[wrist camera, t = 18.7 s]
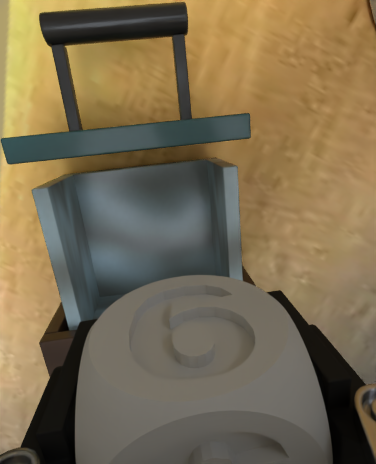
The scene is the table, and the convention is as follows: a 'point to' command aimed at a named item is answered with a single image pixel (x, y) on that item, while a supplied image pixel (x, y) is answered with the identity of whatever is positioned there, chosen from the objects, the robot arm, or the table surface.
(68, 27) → the teal pull-out drawer
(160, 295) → the die
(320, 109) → the table surface
